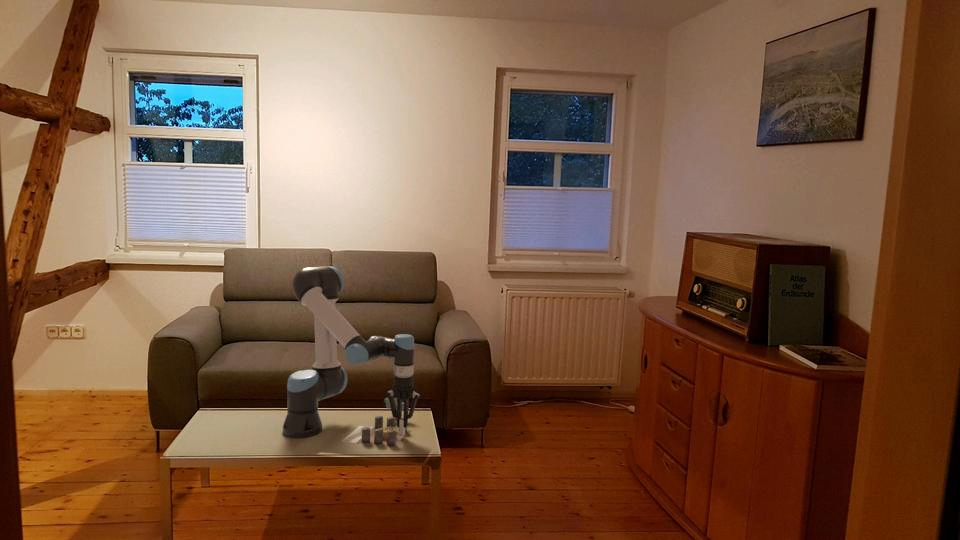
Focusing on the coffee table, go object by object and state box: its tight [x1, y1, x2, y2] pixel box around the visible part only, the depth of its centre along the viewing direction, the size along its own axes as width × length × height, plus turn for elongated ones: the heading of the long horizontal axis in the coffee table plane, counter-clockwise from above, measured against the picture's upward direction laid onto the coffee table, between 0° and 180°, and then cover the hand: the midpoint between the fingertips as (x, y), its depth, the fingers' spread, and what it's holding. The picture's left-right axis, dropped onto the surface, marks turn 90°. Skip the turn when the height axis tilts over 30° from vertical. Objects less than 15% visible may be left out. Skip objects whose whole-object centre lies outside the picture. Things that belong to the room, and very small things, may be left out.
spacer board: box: [341, 415, 412, 448], centre depth 236 cm, size 22×18×6 cm
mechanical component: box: [383, 397, 404, 422], centre depth 255 cm, size 3×10×10 cm, turn 89°
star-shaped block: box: [379, 426, 396, 440], centre depth 235 cm, size 7×7×3 cm
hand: (402, 435), depth 234 cm, fingers closed
